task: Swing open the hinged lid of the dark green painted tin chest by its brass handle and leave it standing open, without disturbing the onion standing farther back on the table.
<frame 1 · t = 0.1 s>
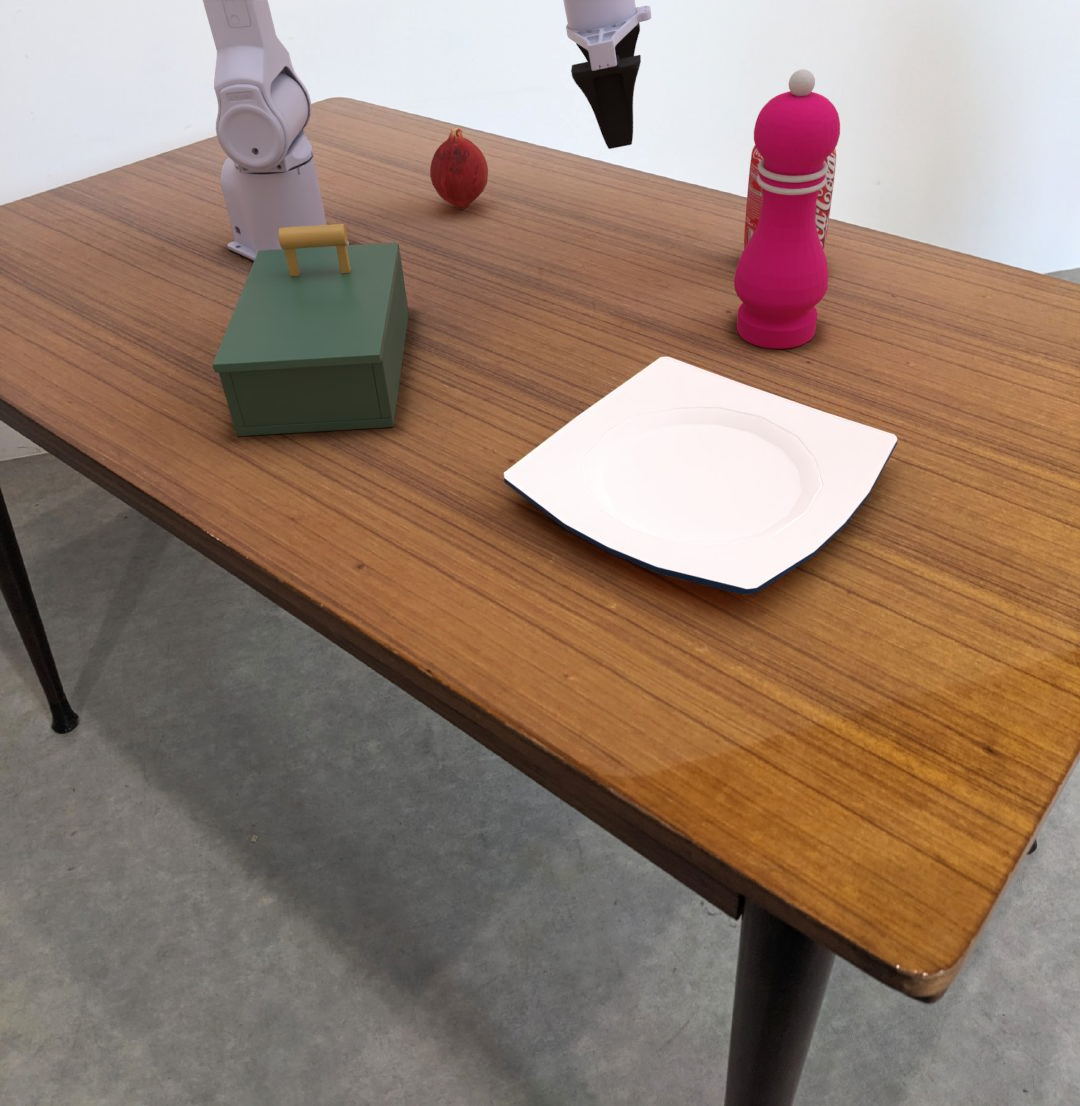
hand: (620, 130, 92), 11 cm above the table, tool pointing down, fingers open, 7 cm apart
pepper mill: (775, 332, 85), on the table
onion: (463, 210, 108), on the table
lid: (309, 278, 78), point 8 cm above the table, hinge at 0.0°
soda can: (781, 269, 94), on the table
plate: (699, 491, 70), on the table
chest: (329, 370, 84), on the table
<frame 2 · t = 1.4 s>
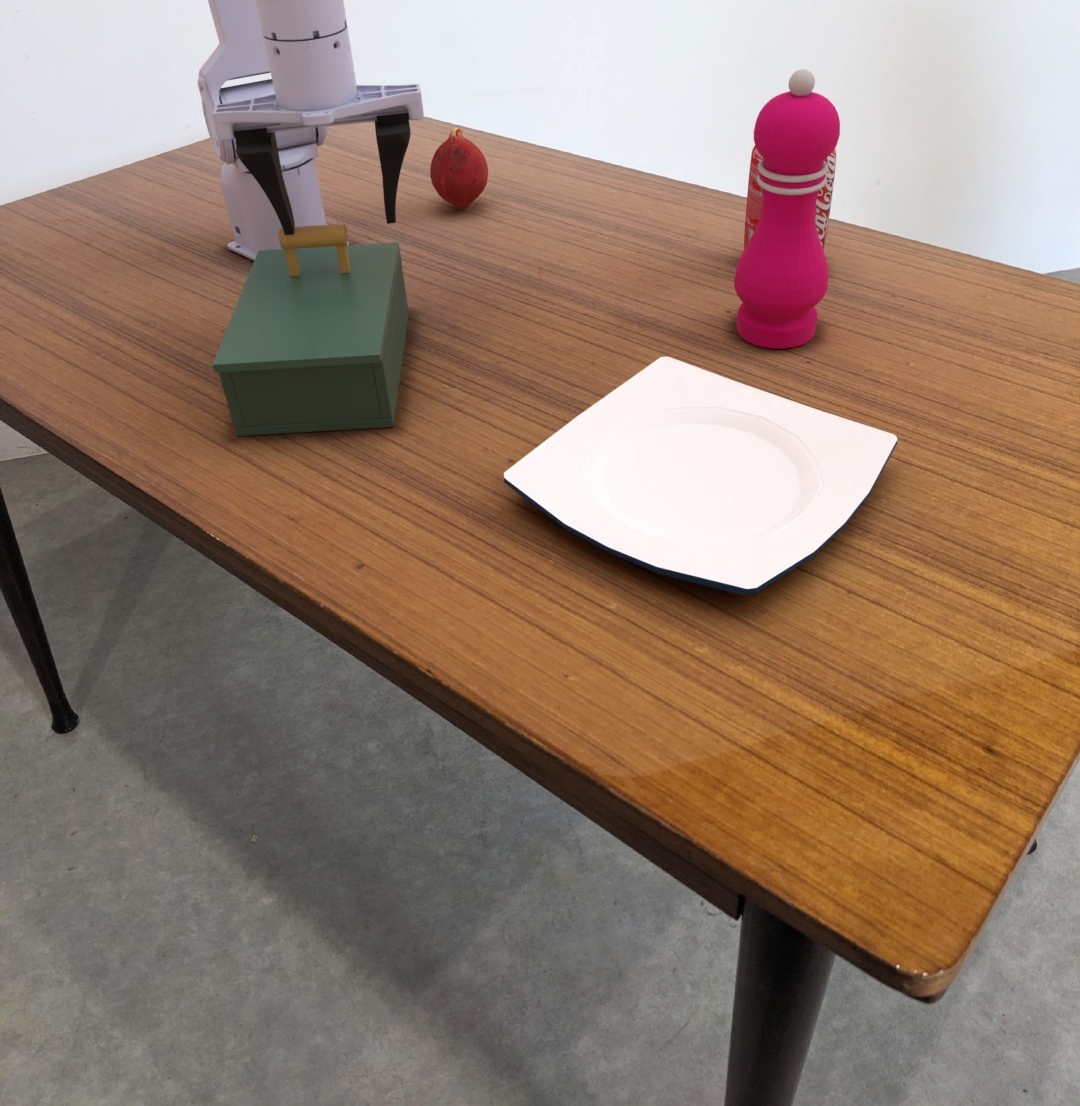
hand: (340, 224, 80), 10 cm above the table, tool pointing down, fingers open, 7 cm apart
nothing on the table moved.
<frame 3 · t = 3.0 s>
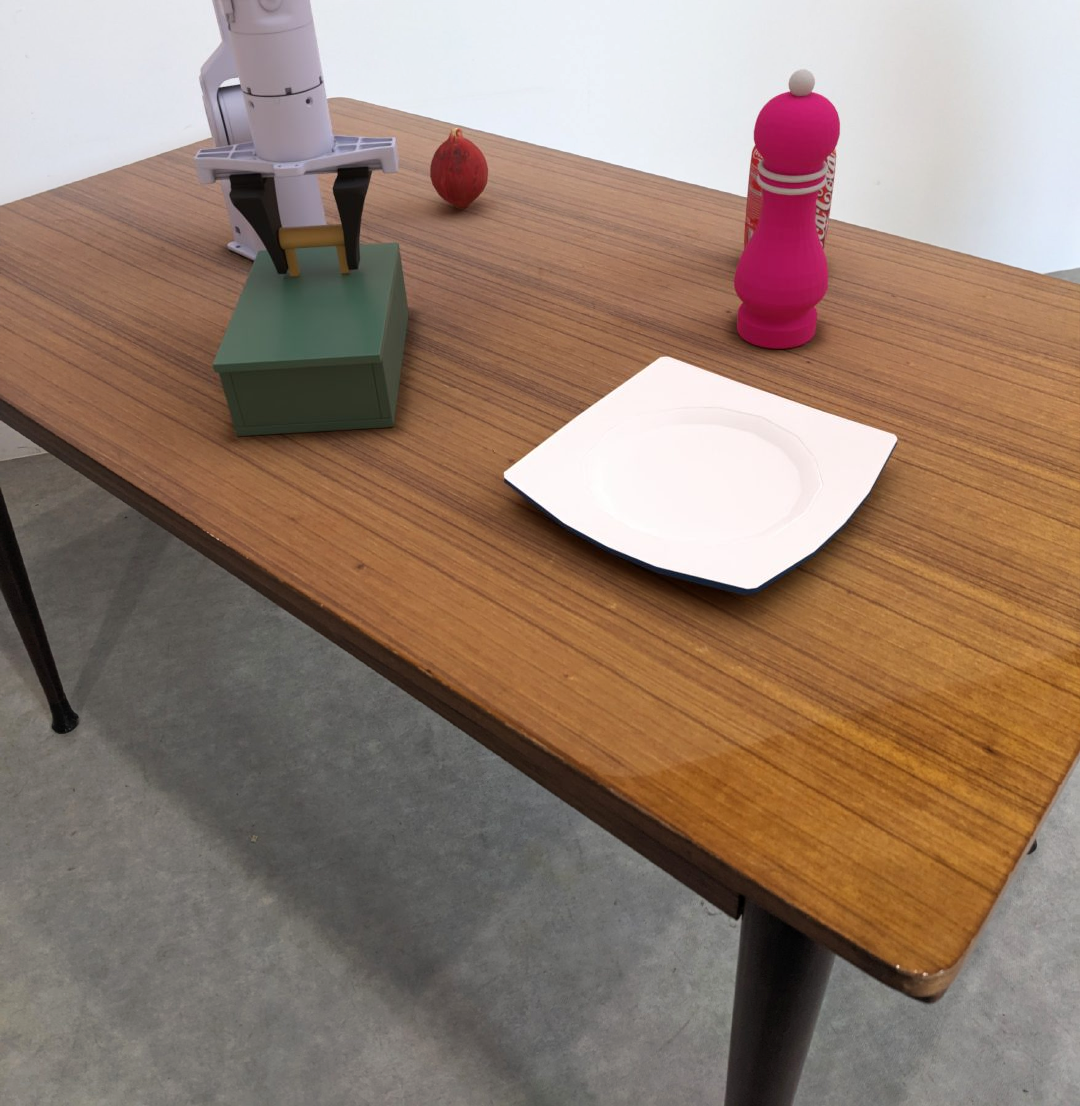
hand: (318, 266, 82), 7 cm above the table, tool pointing down, fingers closed on lid, 5 cm apart
lid: (309, 278, 78), point 8 cm above the table, hinge at 0.0°, touching gripper
everything else where it was.
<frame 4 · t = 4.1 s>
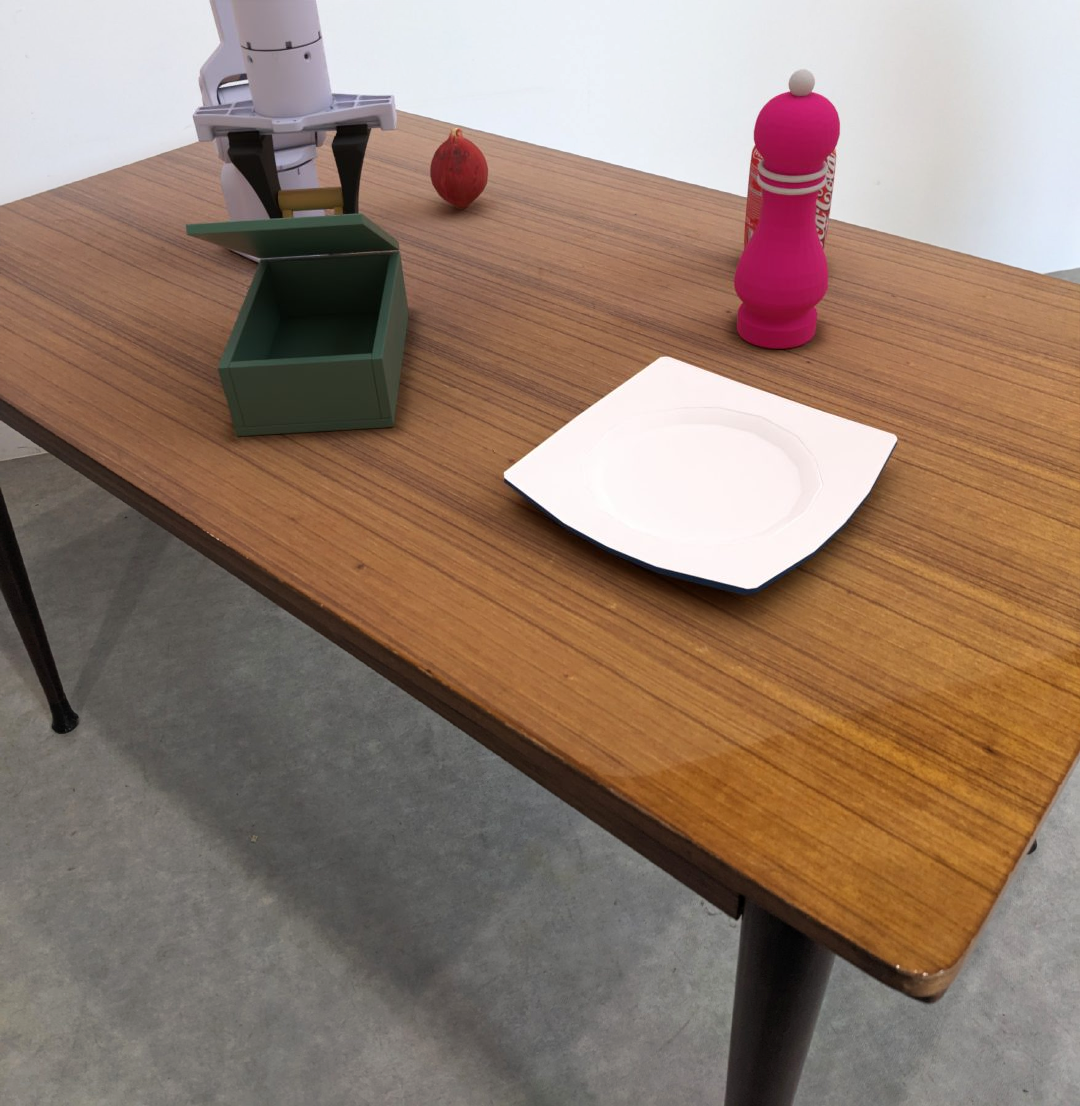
hand: (317, 226, 82), 9 cm above the table, tool pointing down, fingers closed on lid, 5 cm apart
lid: (302, 211, 77), point 12 cm above the table, hinge at 29.4°, touching gripper
everything else where it was.
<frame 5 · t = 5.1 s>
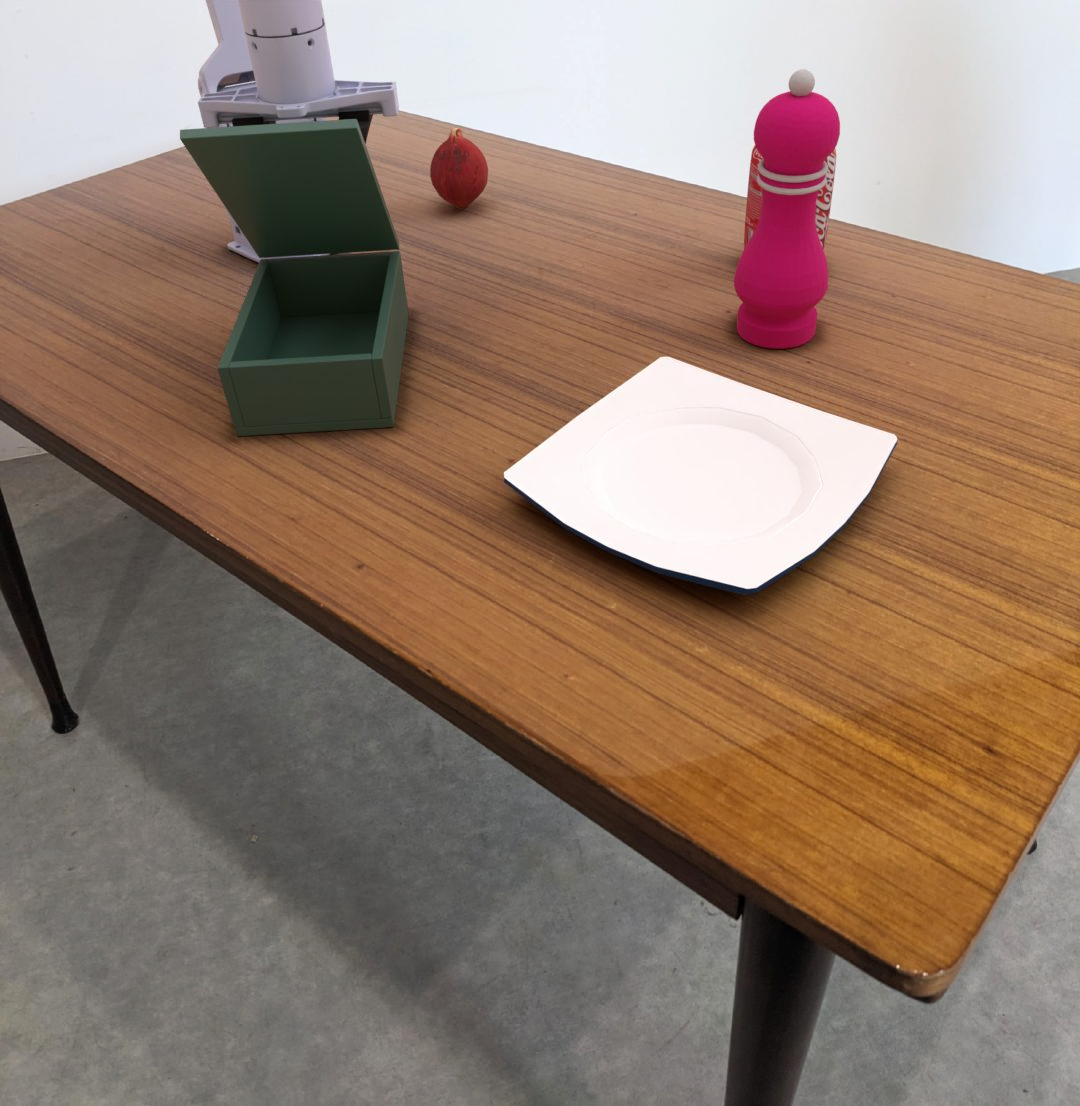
hand: (320, 211, 84), 10 cm above the table, tool pointing down, fingers closed on lid, 5 cm apart
lid: (301, 172, 78), point 14 cm above the table, hinge at 48.7°, touching gripper
everything else where it was.
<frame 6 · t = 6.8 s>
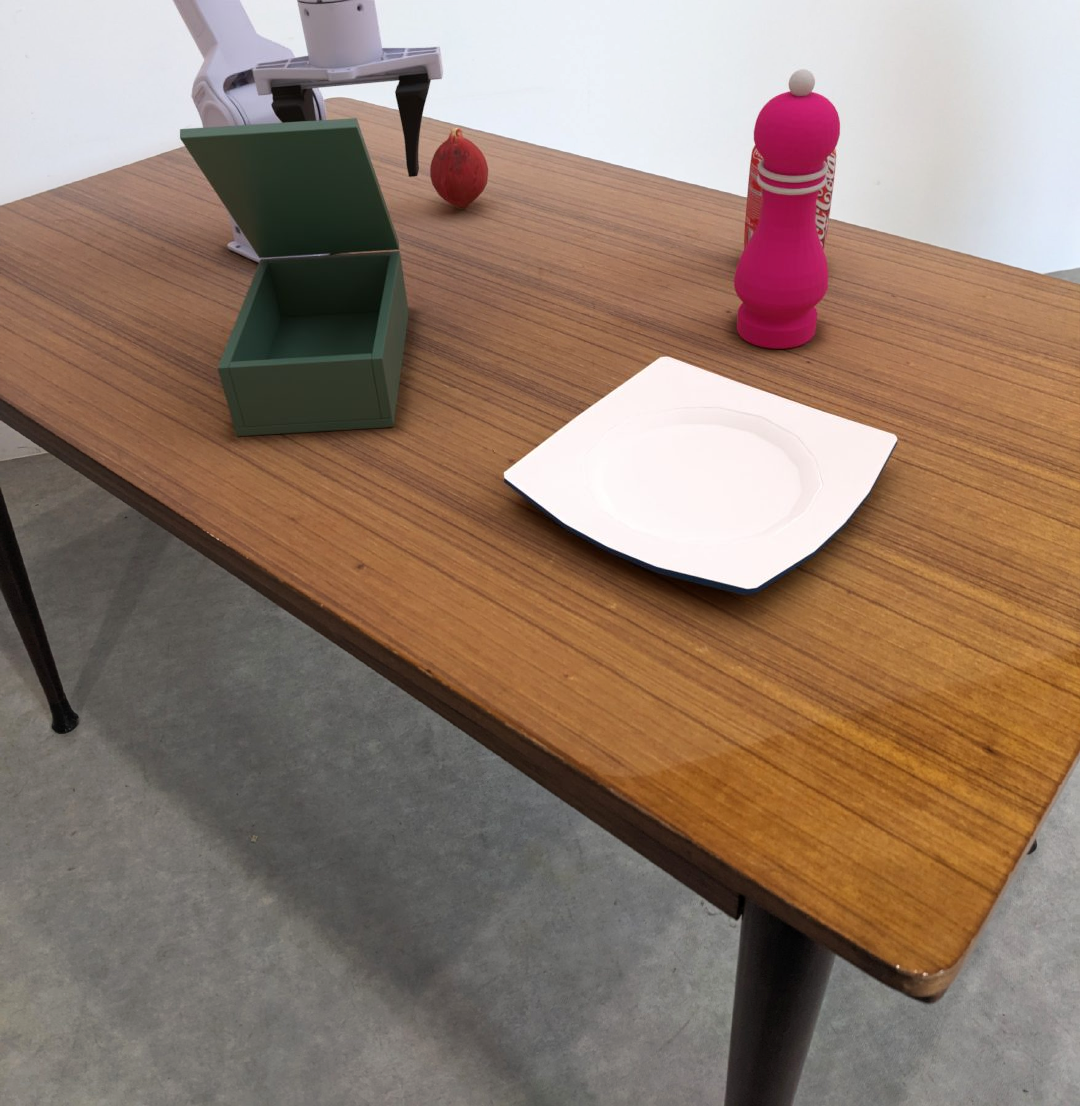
hand: (368, 176, 87), 10 cm above the table, tool pointing down, fingers open, 7 cm apart
lid: (301, 172, 78), point 14 cm above the table, hinge at 48.8°
everything else where it was.
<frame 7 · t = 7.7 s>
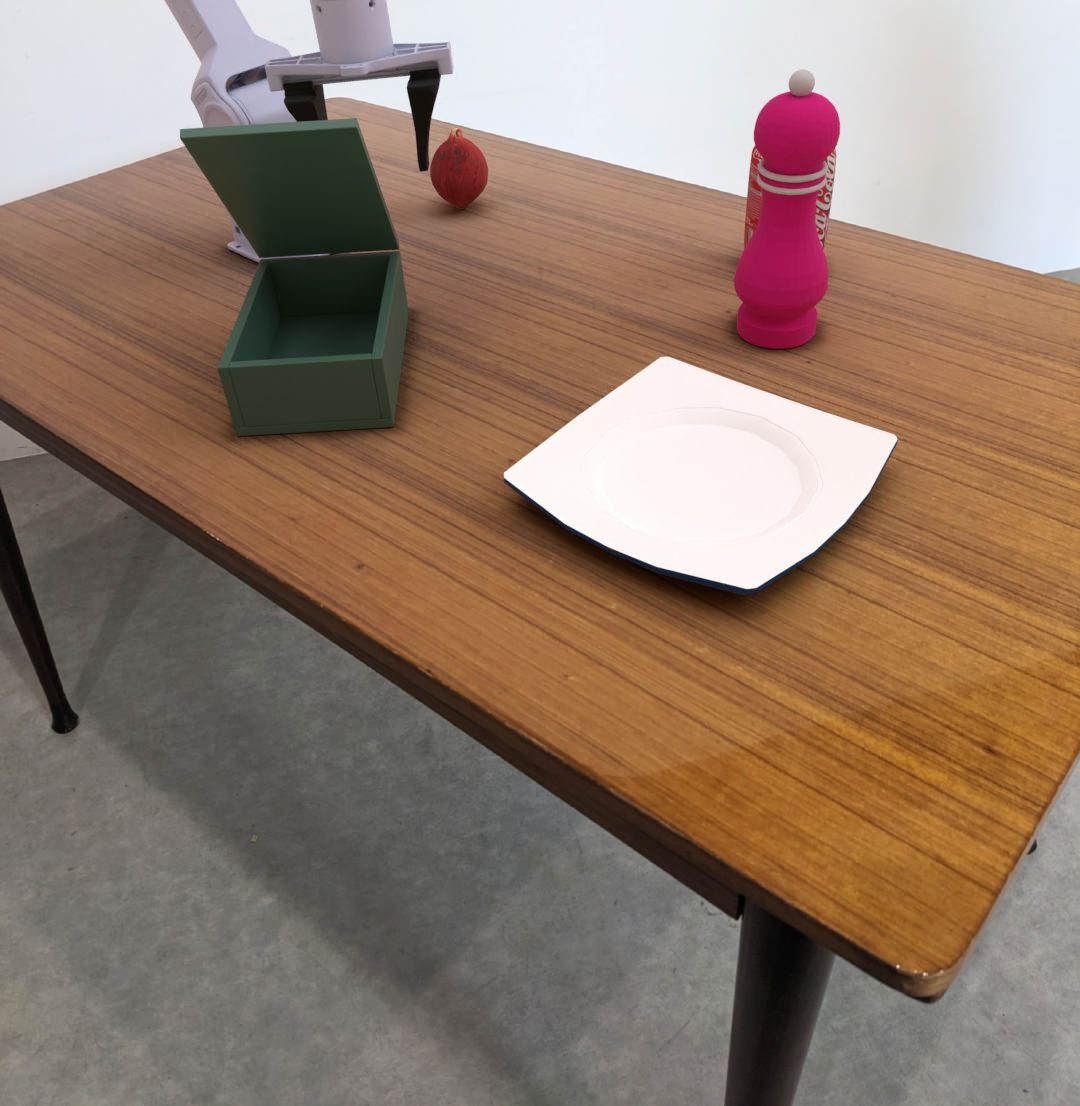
hand: (379, 171, 88), 10 cm above the table, tool pointing down, fingers open, 7 cm apart
nothing on the table moved.
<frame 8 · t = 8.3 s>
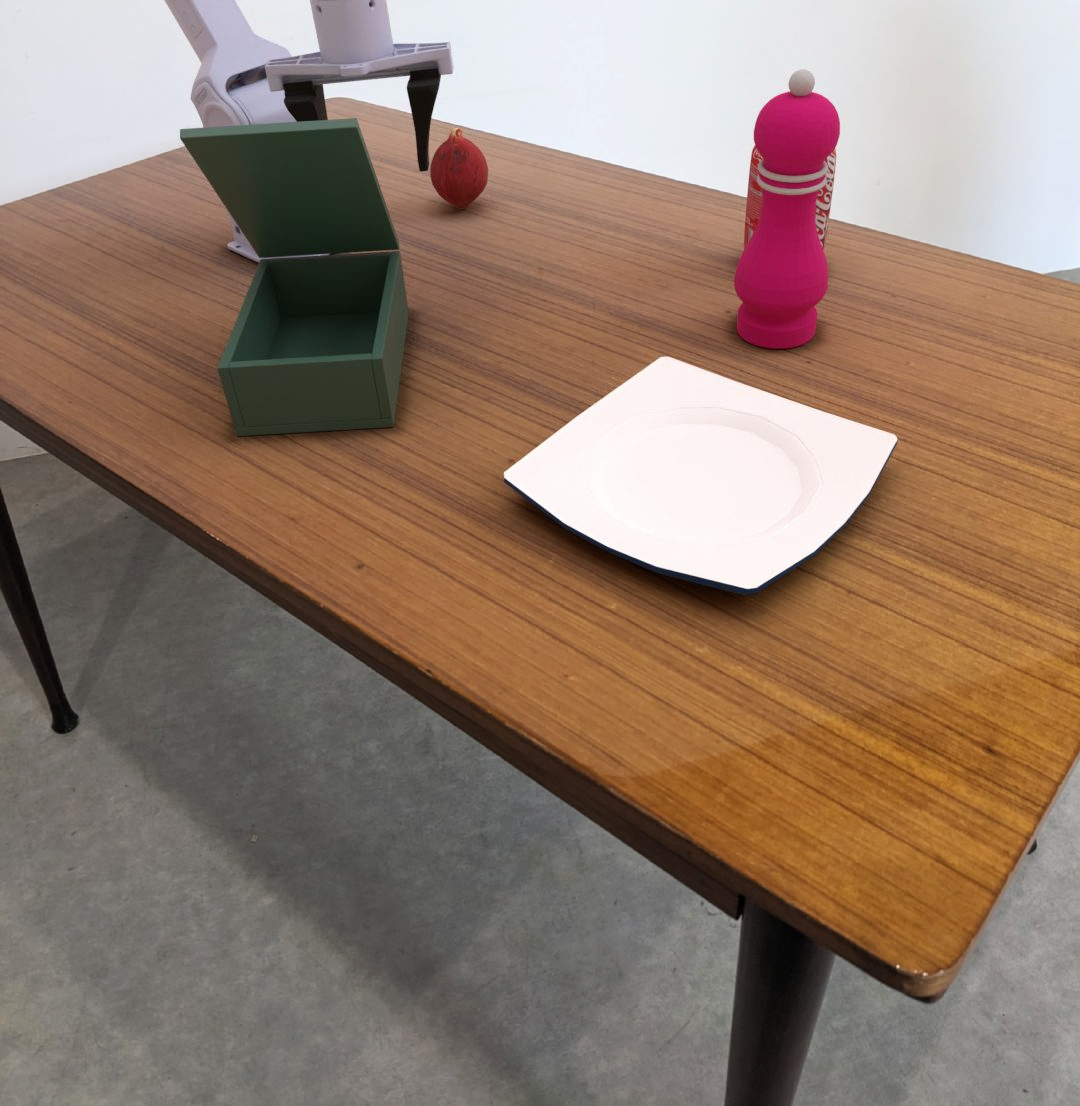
hand: (379, 171, 88), 10 cm above the table, tool pointing down, fingers open, 7 cm apart
nothing on the table moved.
at the end: lid at +49° (first picture: +0°); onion moved 0.2 cm from its start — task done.
